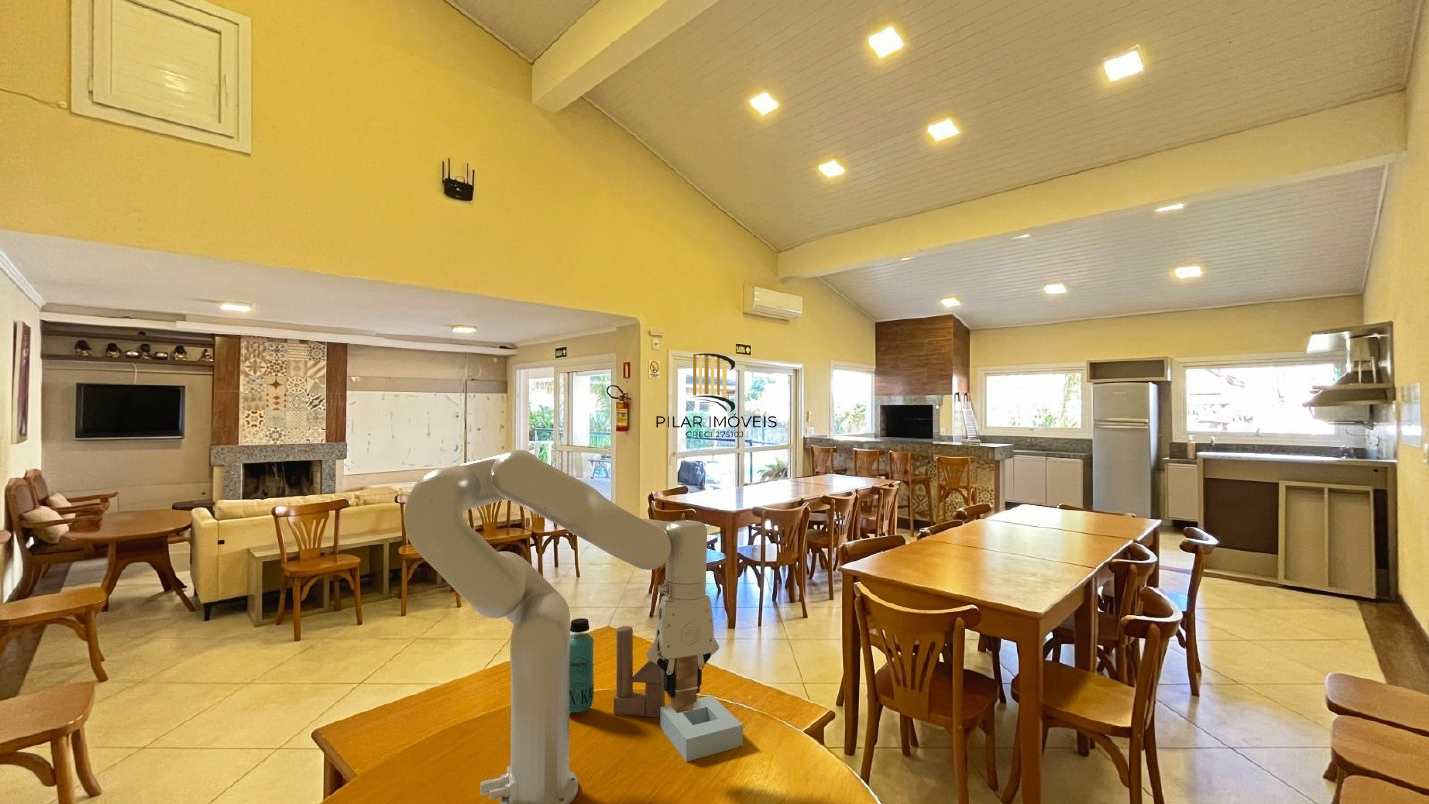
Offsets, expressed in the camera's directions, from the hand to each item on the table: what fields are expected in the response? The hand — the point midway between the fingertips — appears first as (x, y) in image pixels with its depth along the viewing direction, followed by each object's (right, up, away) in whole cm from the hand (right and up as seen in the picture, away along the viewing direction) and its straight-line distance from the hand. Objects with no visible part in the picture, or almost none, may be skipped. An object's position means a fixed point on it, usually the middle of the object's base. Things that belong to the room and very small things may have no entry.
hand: (682, 691), depth 101 cm
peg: (0, -3, 0) cm, 3 cm away
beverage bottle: (-24, -16, +22) cm, 36 cm away
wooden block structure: (-11, -16, +21) cm, 29 cm away
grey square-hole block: (+3, -15, +11) cm, 19 cm away
